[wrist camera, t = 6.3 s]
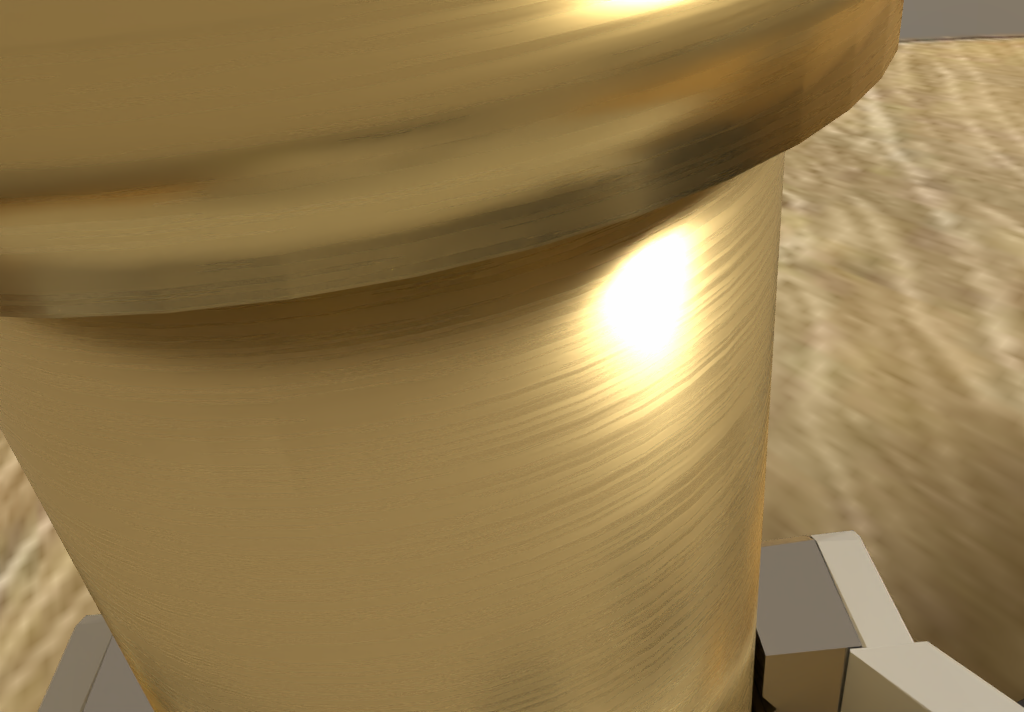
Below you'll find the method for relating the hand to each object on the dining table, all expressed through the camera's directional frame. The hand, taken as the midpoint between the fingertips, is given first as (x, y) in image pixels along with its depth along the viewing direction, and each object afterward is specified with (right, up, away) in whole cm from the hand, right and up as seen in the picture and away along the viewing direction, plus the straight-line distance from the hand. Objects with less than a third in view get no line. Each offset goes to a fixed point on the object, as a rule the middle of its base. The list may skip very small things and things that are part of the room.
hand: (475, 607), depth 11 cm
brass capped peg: (+1, -10, +6) cm, 12 cm away
